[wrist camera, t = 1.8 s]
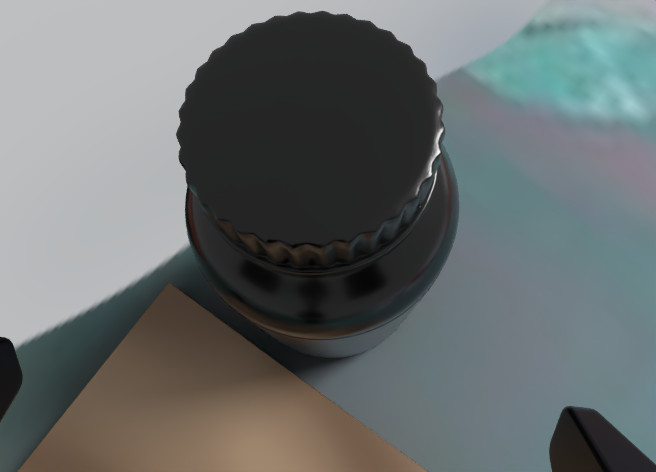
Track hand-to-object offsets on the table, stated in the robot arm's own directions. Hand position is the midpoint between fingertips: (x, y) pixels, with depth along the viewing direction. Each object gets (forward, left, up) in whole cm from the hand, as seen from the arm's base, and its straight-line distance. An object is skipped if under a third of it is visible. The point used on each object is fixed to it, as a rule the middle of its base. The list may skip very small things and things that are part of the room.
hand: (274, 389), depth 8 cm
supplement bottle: (+4, +2, -11) cm, 12 cm away
